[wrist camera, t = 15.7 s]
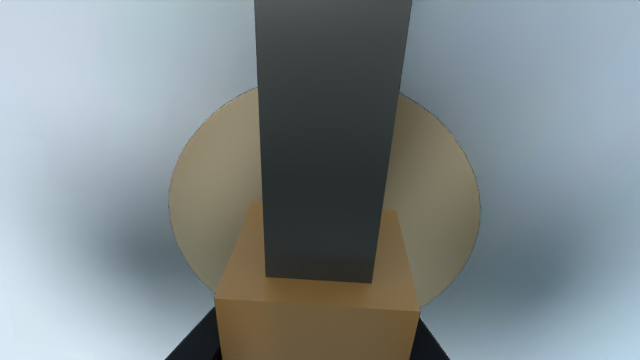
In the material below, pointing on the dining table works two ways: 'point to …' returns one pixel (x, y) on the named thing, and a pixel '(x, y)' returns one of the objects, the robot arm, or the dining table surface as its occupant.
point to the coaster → (400, 194)
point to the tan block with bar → (323, 191)
